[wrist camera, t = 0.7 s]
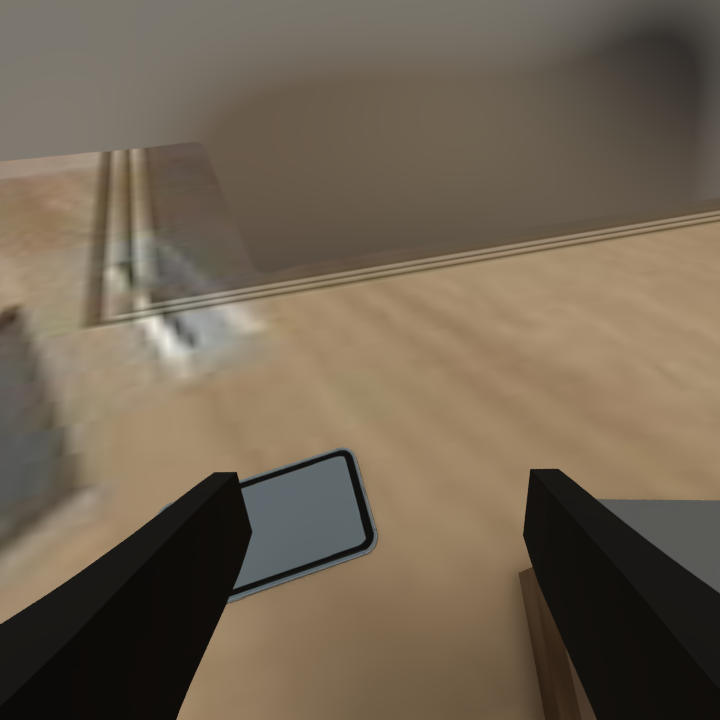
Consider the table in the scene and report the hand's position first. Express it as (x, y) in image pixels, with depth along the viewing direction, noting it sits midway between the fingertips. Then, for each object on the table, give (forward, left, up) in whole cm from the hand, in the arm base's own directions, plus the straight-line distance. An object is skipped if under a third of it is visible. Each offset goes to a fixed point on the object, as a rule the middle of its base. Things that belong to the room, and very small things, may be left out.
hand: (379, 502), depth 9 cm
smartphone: (+2, +10, -16) cm, 19 cm away
